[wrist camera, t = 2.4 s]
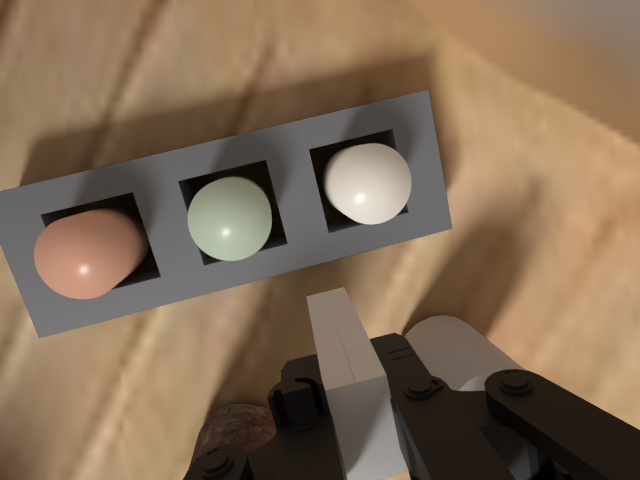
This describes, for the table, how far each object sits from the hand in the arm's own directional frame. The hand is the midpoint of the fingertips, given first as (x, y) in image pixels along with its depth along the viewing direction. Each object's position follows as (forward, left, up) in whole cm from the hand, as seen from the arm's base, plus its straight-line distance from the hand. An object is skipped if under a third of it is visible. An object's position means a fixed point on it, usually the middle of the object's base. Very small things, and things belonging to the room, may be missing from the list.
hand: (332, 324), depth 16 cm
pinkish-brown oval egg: (-13, +4, -16) cm, 21 cm away
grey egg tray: (-4, +4, -18) cm, 19 cm away
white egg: (+5, +4, -16) cm, 17 cm away
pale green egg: (-4, +4, -16) cm, 16 cm away
